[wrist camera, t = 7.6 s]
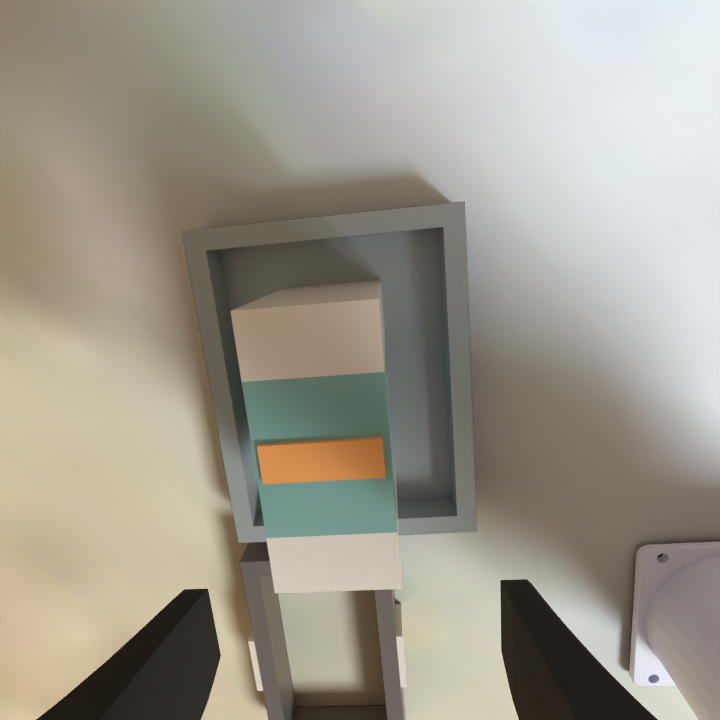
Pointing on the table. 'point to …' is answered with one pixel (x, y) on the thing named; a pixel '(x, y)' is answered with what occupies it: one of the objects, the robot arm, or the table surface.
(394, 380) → the tray
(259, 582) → the frame
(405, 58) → the table surface
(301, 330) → the beige teal carton
